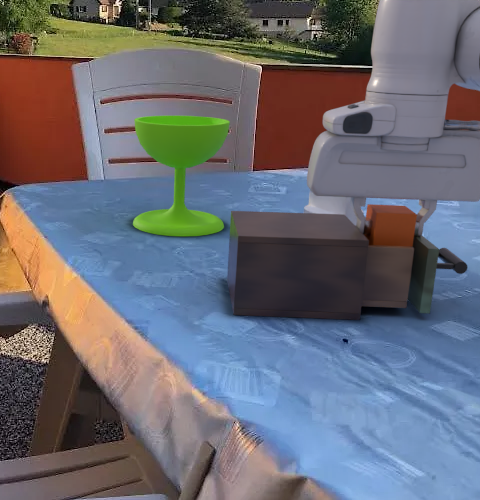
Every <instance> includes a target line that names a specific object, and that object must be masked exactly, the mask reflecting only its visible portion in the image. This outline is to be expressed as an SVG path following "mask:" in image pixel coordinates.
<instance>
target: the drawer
mask: <svg viewBox="0 0 480 500" xmlns="http://www.w3.org/2000/svg"><path fill="white" fill-rule="evenodd" d="M355 226H356V225H355ZM363 235H364V234H363ZM438 260H441V261H442V262H439V261H438ZM437 270H452V271H454V272H455V273H456V274H458V275H463V274H465V273H466V272H467V271H468V264H467V263H466V262H465V261H463V260H462V259H461V258H460V257H459V256H458V255H456V254H455V253H453V251H451V250H449V249H448V248H447V247H441V248H439V247H438V246H436V245H435V244H434V243H432V242H431V241H430V240H429V239H427V238H426V237H425V236H424V235H422V236H421V237H420V236H414V239H413V246H412V247H411V246H383V245H369V246H368V254H367V263H366V271H365V280H364V289H363V297H362V306H361V307H367V308H368V307H370V308H394V309H395V308H396V309H406V308H407V307H408V302H409V303H410V305H412V306H413V308H415V310H416V311H417V312H418V313H419V314H431V309H432V303H433V296H434V289H435V282H436V276H437V275H436V274H437Z"/></svg>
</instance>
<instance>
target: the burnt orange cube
mask: <svg viewBox="0 0 480 500" xmlns="http://www.w3.org/2000/svg"><path fill="white" fill-rule="evenodd" d="M365 213H366V214H365V217H369V218H370V219H371V220H372V221H373V222H372V227H371V229H372V230H371V234H364V236H365V237H366V238H367V239H368V240H369V245H383V246H411V247H412V246H413V239H414V232H415V225H416V218H417V214H418V213H416V212H414V211H413V210H411V209H410V208H409V207H408V206H406V205H399V204H397V205H395V204H371V203H368V204H367V206H366V212H365Z"/></svg>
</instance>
